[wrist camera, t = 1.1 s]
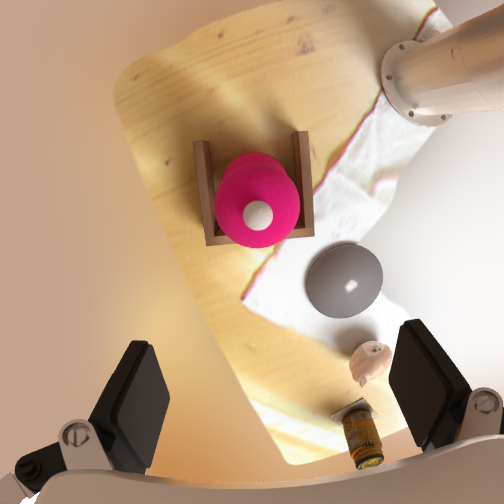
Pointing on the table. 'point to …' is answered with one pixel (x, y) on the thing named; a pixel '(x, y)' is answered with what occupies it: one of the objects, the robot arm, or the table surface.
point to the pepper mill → (256, 201)
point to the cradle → (303, 184)
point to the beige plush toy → (369, 361)
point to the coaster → (344, 281)
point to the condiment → (361, 434)
